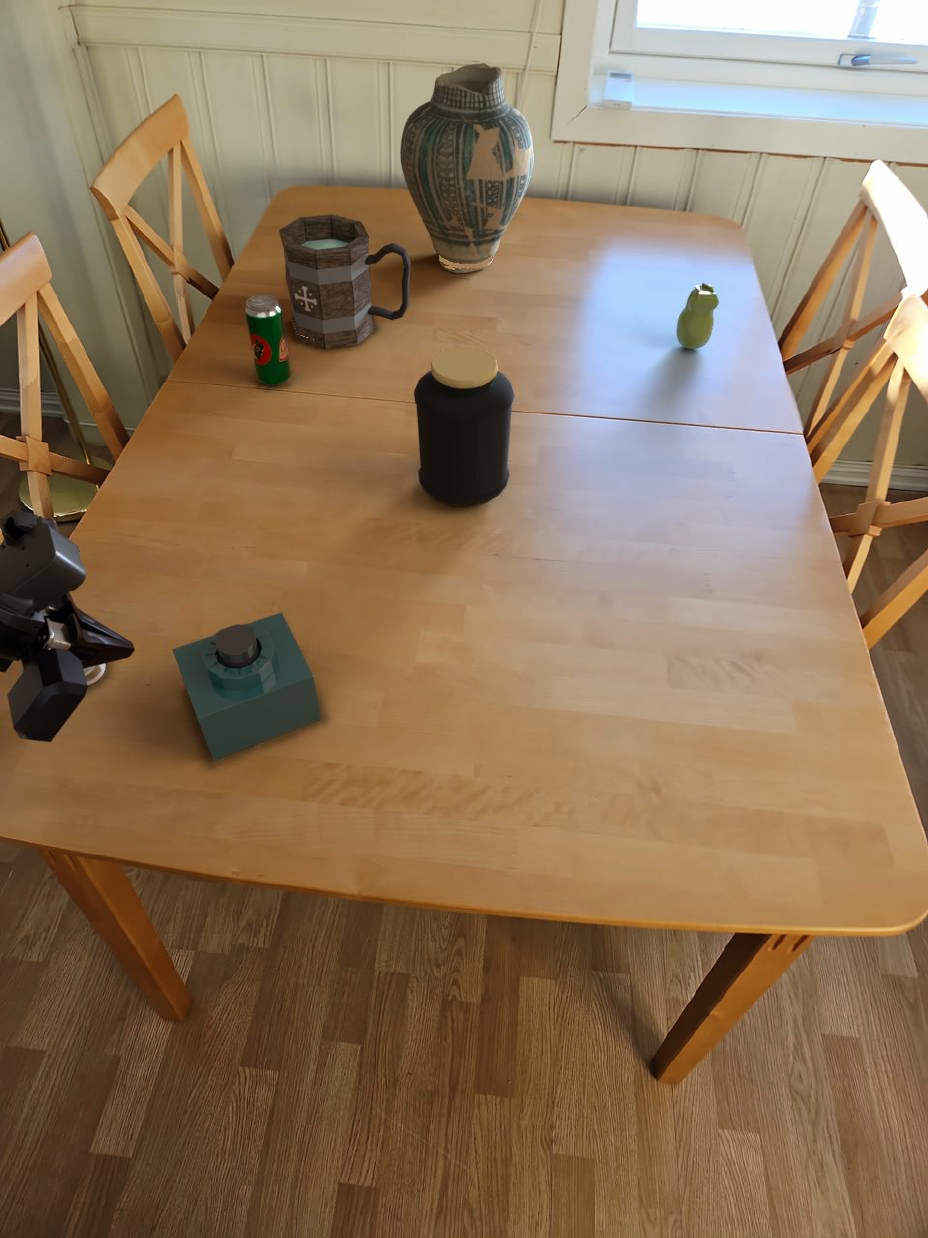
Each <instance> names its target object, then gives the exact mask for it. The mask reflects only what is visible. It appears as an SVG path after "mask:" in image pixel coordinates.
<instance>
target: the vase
mask: <svg viewBox="0 0 928 1238" xmlns="http://www.w3.org/2000/svg"><path fill="white" fill-rule="evenodd" d="M533 143H534V142H533V137H532V131H531V128H530V126H529V122H528V120H527V119H526V117H525V116H524V115H523V114H522V113H521V111H519V110H518V109H517V108H516V107H514V106H512V105H511V104H509V103H508V102H507V100H506V96H505V90H504V86H503V71H502V69H501V68H500V66H499V67H498V66H492V67H491V66H490V65H488V64H487V63H485V62H482V63H473V64H466V65H463V66H461V67H459V68H457V69H455V70H453V71H451V72H446V73H442V74H440V75H439V76H438V77H436V79H435V80H434V88H433V92H432V95H431V97H430V100H429V101H427V102H425V103H423V104H421V105H420V106H418V107H417V108H415V109H414V110H413V111H412V113H410V115H408V117H407V119H406V121H405V124H404V126H403V131H402V134H401V140H400V150H399V151H400V153H399V155H400V166H401V171H402V174H403V177H404V180H405V183H406V186H407V189H408V192H409V195H410V197H411V199H412V202H413V204H414V206H415V208H416V210H417V212H418V214H419V216H420V218H421V220H422V222H423V224H424V226H425V229H426V231H427V233H428V235H429V238H430V241H431V243H432V246H433V249H434V251H435V253H436V254H437V255H438V254H439V255H440V256H441V257H442V258H444V259H446V260H448V261H450V262H453V263H459V264H477V263H481V262H484V261H486V260H488V259H489V258H490V257H492V256H493V257H494V256H495V255H496V253H497V251H498V250H499V248H500V242H501V239H502V237H503V236H504V233H505V232H506V229H507V228H508V226H509V224H510V222H511V220H512V219H513V217H514V215H515V213H516V212H517V210H518V208H519V206H520V205H521V203H522V201H523V199H524V197H525V194H526V192H527V190H528V187H529V184H530V181H531V178H532V174H533V168H534V159H535V152H534V144H533ZM493 259H494V258H493ZM493 259H492V261H491V262H490V263H488V264H487V265H484V266H481V267H482V268H480V267H478V268H477V269H476V268H469V269H467V268H461V269H459V268H455V267H453V268H455V270H452V269H448V268H446V269H447V270H446V269H445V270H446V271H448V272H451V273H454V274H455V273H456V274H465V273H471V272H476V271H479V270H482V269H484V268H486V267H488V266H490V265H491V263H492V262H493V261H494V260H493ZM439 264H440V265H441V266H442V267H443V266H449V265H446V264H444V263H443V262H439ZM485 266H486V267H485ZM471 269H472V270H471Z"/></svg>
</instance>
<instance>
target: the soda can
mask: <svg viewBox="0 0 928 1238" xmlns="http://www.w3.org/2000/svg"><path fill="white" fill-rule="evenodd" d="M244 316H245V320H246V321H245V322H246V326H247V331H248V336H249V341H250V347H251V352H252V358H253V363H254V369H255V374H256V378H257V380H258V381H259V382H261V383H262V384H263V385H265V386H266V385H267V386H270V387H271V386H272V387H273V386H280V385H283V384H285V383H286V382H288V381H289V379H290V378H291V376H292V370H291V363H290V355H289V349H288V343H287V335H286V330H285V329H286V328H285V323H284V316H283V309H282V306H281V304H280V303H279V301H278V298H277V297H275V296H273V295H270V294H257V295H253V296H250V297H249V298H248V299H247V300H246V302H245V308H244Z"/></svg>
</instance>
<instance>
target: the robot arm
mask: <svg viewBox="0 0 928 1238" xmlns="http://www.w3.org/2000/svg"><path fill="white" fill-rule="evenodd" d="M57 522H58V521H56V519H54V518H50V517H49V518H44V517H43V516H41V515H38V514H35V513H30V512H26V511H21V510H19V509H18V510H17V509H12V510H10V511H9V512H8V513H6V514H5V515H4V516H2V517H1V518H0V531H1V535H2V537H3V540H2V541H1V543H0V673H6V672H7V671H8V670H9V668H10V667H11V665H12V664H13V662H20V664H21V669H22V673H21V674H20V676H19V677H18V678H17V680H16V681H15V683H14V684H13V685H12V686H11V688H10V689H9V691H8V693H7V694H6V697H7V701H8V706H9V712H10V717H11V722H12V727H13V730H14V731H15V733H16V734H17V736H18V737H19V738H20V739H21V740H27V741H36V742H46V743H52V741H53V740H54V738H55V737H56V736H57V734H58V733H59V732H60V731H61V730H62V728H63V727H64V725H65V724H66V723H67V722H68V720H69V718H71V716H72V715H73V713H75V711H76V709H77V708H78V707H79V705H80V704H81V702H82V701H83V700H84V699H85V697H86V695H87V691H88V687H89V685H88V684H87V680H86V677H85V673H84V669H85V668H88V667H93V666H97V665H101V664H105V665H106V664H108V663H113V662H116V661H120V660H121V661H122V660H125V659H128V658H130V657H132V655H133V654H134V652H135V651H136V649H135V646H134V643H133V642H132V641H131V640H129V639H127V638H126V637H124V636H122V635H121V634H119V633H118V632H116V631H115V630H113V629H111V628H109V627H108V626H106V625H104V624H103V623H101V622H99V621H98V620H96V618H93V617H92V616H90V615H89V614H87V613H86V612H85V611H83V610H82V609H80V608H79V607H78V606H77V605H76V603H75V601H74V599H73V597H72V594H71V592H74V591H76V590H78V589H79V588H80V587H81V586H82V585H83V584H84V582H85V580H86V578H87V570H86V567H85V566H84V564H83V561H82V559H81V555H80V547H79V545H77V543H75V542H73V541H72V540H70V539H69V538H68V537H67V536H65V535H63V534H62V533H61V532H60V531H59V526H58V523H57Z"/></svg>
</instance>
